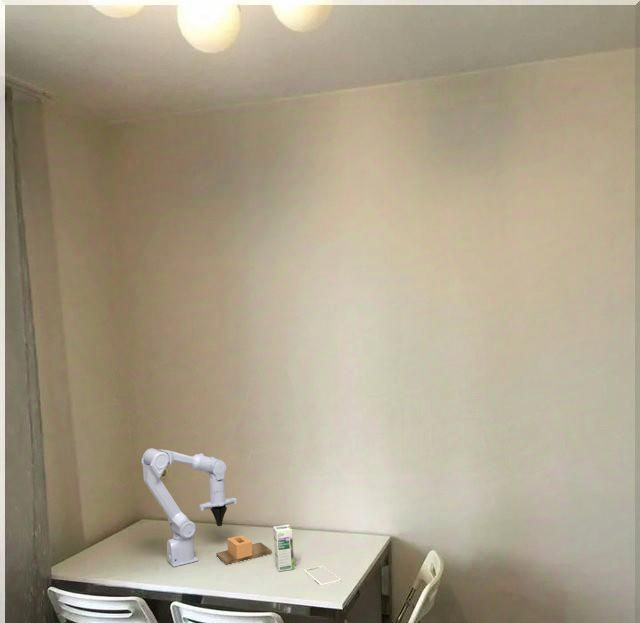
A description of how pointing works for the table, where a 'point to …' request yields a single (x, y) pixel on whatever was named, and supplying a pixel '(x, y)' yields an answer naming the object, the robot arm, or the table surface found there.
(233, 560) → the brown piece
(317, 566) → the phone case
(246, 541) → the collar
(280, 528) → the syrup box
